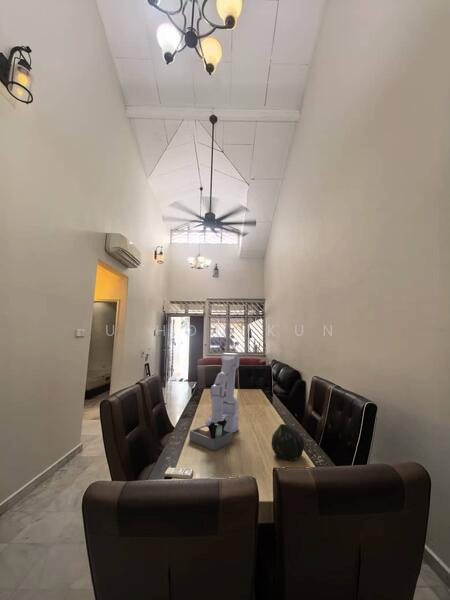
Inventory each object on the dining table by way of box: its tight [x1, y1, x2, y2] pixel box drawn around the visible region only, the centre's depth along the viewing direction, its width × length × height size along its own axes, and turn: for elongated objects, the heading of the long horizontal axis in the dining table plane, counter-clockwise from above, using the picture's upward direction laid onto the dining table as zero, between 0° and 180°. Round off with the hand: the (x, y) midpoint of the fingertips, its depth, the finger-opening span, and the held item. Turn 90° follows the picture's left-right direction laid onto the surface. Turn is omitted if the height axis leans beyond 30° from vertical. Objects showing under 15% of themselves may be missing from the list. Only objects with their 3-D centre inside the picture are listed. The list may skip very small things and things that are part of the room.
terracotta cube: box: [199, 427, 211, 438], centre depth 138 cm, size 5×5×5 cm
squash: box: [271, 423, 305, 461], centre depth 122 cm, size 14×15×15 cm
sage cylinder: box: [212, 423, 222, 439], centre depth 133 cm, size 5×5×7 cm
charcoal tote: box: [189, 424, 233, 452], centre depth 136 cm, size 18×14×5 cm
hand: (216, 436), depth 133 cm, fingers closed on sage cylinder, 5 cm apart
